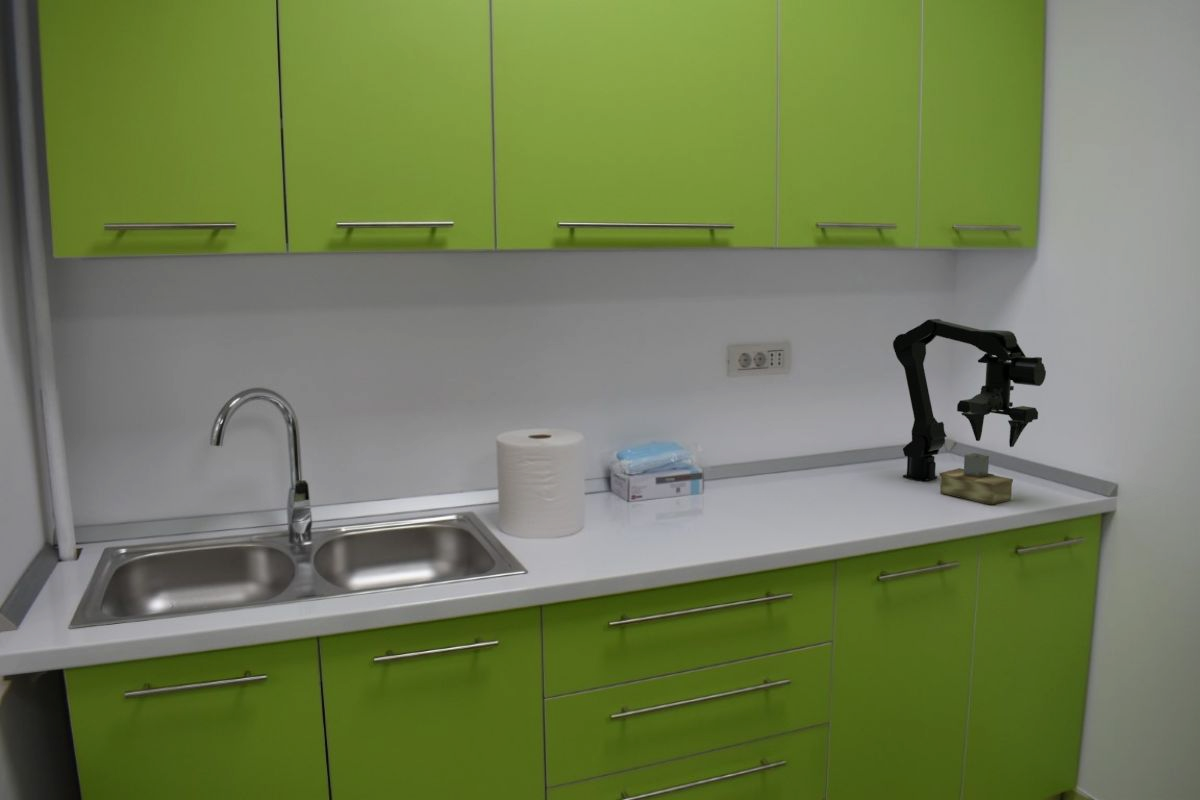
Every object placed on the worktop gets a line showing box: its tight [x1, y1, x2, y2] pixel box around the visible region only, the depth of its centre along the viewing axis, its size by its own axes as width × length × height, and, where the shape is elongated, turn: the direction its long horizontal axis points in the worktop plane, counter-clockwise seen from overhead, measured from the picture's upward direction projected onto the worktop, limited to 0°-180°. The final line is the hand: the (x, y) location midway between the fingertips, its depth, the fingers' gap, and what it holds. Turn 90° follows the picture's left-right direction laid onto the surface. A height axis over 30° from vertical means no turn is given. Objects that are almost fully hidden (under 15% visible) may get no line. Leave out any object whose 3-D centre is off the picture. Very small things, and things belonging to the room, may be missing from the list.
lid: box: [939, 467, 1014, 488], centre depth 215 cm, size 14×9×1 cm, turn 35°
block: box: [963, 452, 990, 478], centre depth 215 cm, size 4×4×5 cm
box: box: [939, 476, 1013, 506], centre depth 215 cm, size 14×8×4 cm, turn 35°
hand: (994, 443), depth 218 cm, fingers open, 9 cm apart
